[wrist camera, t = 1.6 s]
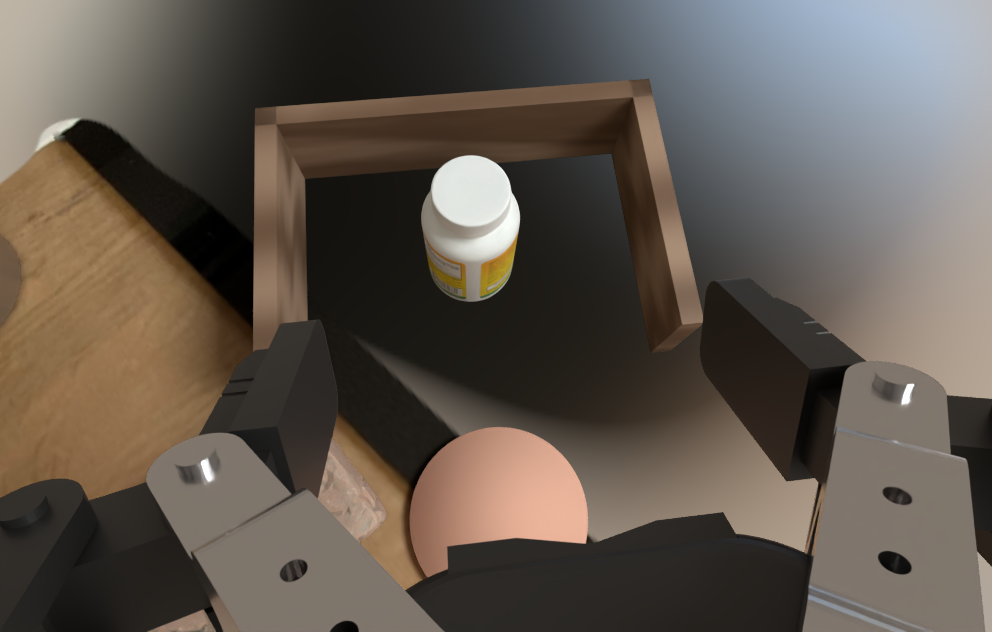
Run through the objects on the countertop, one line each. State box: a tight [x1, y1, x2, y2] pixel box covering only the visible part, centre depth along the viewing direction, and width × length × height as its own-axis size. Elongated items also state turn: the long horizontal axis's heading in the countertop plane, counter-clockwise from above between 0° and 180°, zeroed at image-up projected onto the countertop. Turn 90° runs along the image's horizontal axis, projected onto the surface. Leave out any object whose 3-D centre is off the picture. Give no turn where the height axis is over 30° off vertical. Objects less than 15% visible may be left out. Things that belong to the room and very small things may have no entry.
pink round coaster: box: [410, 427, 588, 578], centre depth 34 cm, size 10×10×1 cm
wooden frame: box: [253, 79, 703, 353], centre depth 36 cm, size 16×23×6 cm, turn 96°
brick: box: [148, 438, 386, 632], centre depth 31 cm, size 17×8×5 cm, turn 131°
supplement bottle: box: [421, 155, 520, 302], centre depth 34 cm, size 5×5×10 cm
